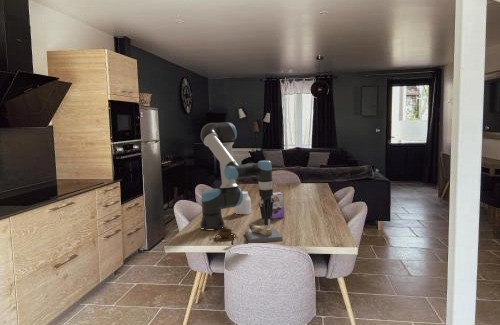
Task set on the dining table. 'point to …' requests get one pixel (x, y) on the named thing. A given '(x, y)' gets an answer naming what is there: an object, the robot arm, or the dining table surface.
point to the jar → (244, 205)
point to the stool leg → (260, 229)
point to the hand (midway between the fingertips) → (267, 230)
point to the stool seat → (262, 236)
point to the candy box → (278, 205)
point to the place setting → (226, 235)
